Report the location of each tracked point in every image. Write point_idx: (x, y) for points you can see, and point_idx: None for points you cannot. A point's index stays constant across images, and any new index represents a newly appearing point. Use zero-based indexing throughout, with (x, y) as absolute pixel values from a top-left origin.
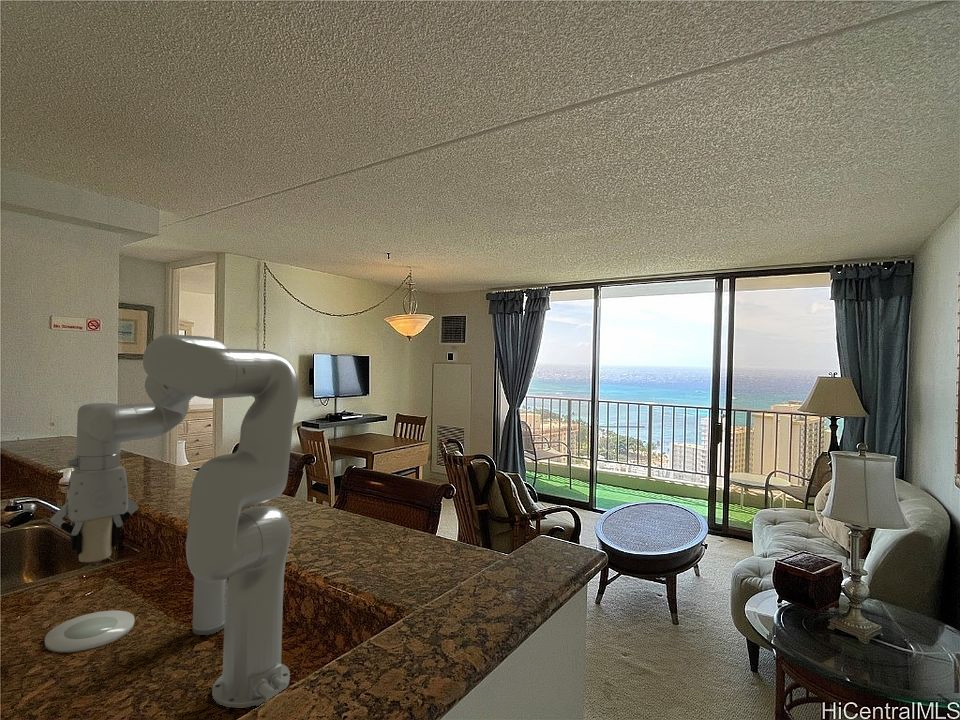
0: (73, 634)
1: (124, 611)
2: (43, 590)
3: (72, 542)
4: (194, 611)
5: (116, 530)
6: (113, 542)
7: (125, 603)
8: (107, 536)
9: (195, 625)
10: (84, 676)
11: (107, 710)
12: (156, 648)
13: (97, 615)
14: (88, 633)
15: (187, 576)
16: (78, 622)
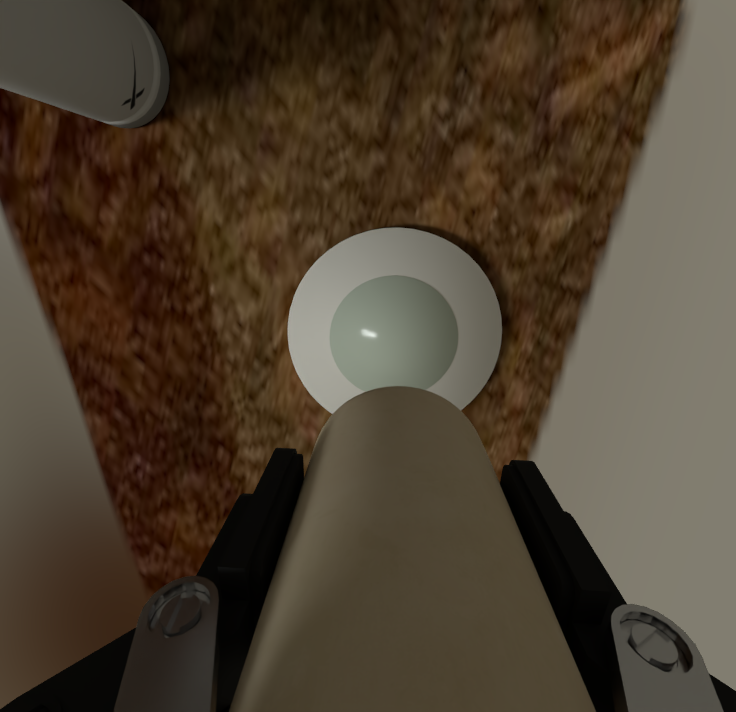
0: (440, 330)
1: (300, 376)
2: None
3: (596, 558)
4: (116, 30)
5: (239, 543)
6: (292, 470)
7: (281, 444)
8: (336, 493)
9: (147, 42)
10: (493, 52)
11: None
12: (288, 65)
13: None
14: (411, 305)
15: (111, 492)
16: None
